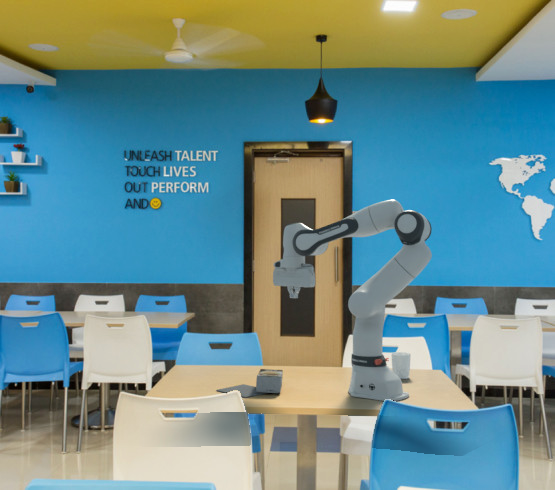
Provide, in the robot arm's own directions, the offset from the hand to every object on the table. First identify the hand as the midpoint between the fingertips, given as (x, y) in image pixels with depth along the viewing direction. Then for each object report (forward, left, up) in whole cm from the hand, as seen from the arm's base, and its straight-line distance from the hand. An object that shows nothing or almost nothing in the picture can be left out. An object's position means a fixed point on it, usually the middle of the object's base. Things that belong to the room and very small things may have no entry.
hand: (293, 298), depth 234 cm
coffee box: (-7, +21, -30) cm, 37 cm away
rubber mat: (+4, +23, -34) cm, 41 cm away
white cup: (-24, -41, -34) cm, 59 cm away
